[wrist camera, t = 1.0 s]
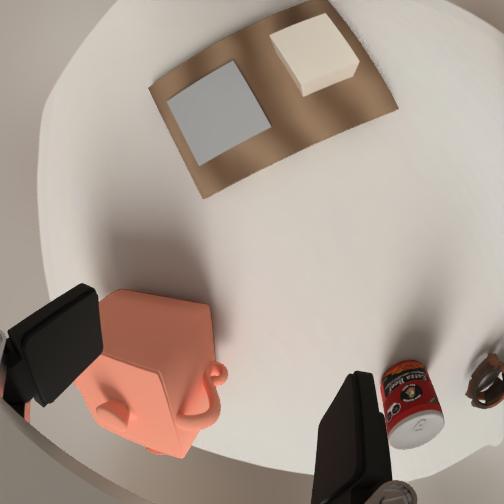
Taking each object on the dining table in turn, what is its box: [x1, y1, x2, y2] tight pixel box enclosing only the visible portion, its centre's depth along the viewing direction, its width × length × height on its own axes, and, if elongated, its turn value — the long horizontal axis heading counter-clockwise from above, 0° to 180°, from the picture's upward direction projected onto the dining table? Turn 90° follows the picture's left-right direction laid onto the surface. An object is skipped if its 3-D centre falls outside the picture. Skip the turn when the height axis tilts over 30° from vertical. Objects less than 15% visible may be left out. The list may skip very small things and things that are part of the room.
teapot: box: [73, 289, 228, 459], centre depth 34 cm, size 25×23×18 cm
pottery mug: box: [465, 354, 504, 409], centre depth 29 cm, size 12×10×8 cm
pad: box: [167, 61, 271, 166], centre depth 28 cm, size 9×9×1 cm
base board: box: [148, 0, 399, 199], centre depth 27 cm, size 24×16×2 cm, turn 117°
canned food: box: [380, 360, 445, 450], centre depth 30 cm, size 8×8×11 cm
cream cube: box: [269, 13, 360, 97], centre depth 22 cm, size 6×6×5 cm
